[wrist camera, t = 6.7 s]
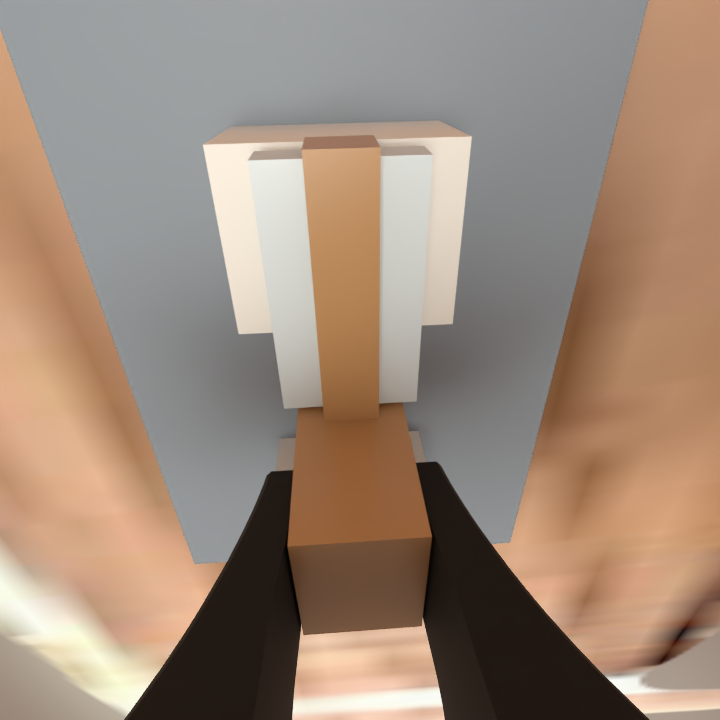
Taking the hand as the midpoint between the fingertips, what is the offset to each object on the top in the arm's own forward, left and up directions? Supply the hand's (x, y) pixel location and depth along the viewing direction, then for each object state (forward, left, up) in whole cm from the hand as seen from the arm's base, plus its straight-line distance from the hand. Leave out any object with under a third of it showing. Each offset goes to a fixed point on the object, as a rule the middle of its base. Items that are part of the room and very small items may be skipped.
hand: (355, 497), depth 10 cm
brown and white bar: (0, 0, -2) cm, 2 cm away
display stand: (0, 0, -7) cm, 7 cm away
